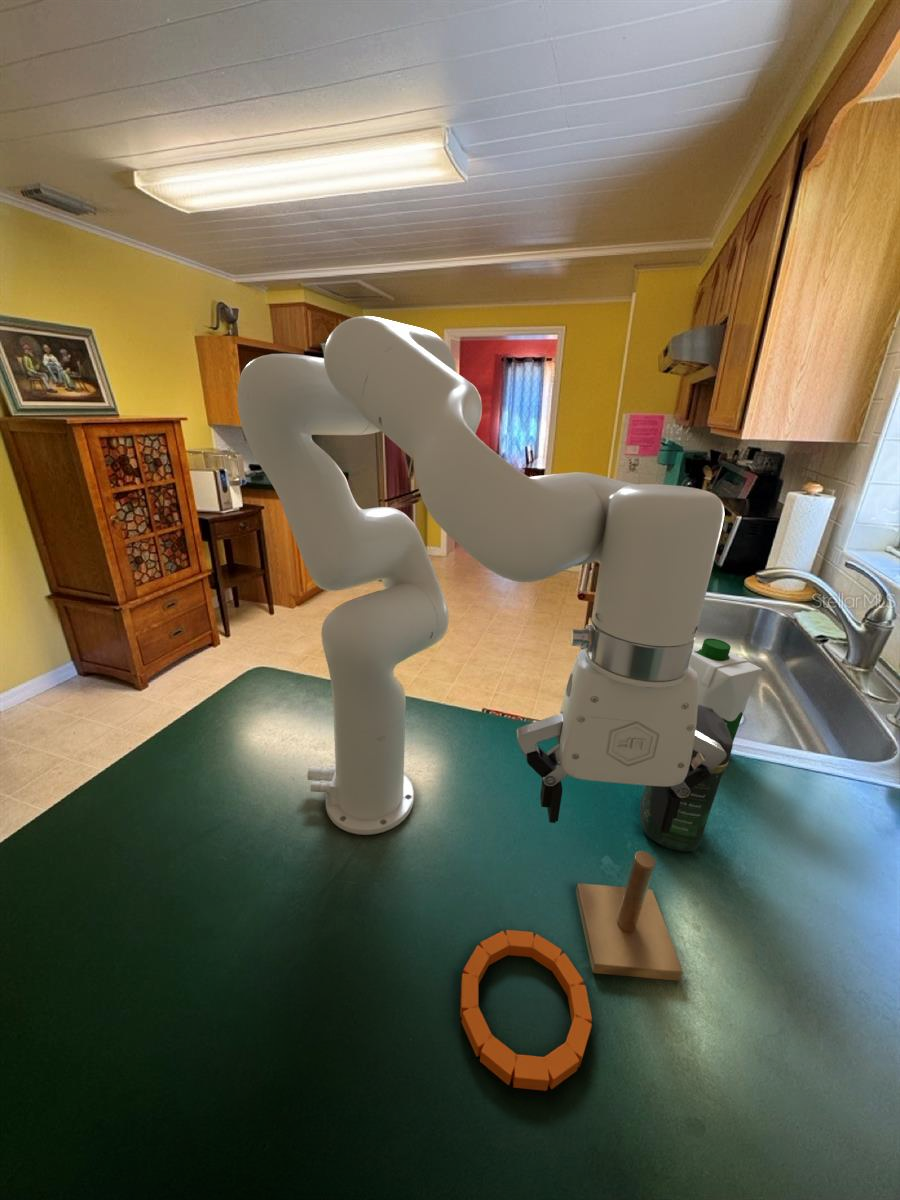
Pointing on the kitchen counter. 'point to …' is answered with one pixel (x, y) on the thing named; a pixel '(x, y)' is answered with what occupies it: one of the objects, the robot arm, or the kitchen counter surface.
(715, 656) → the milk carton
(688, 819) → the coffee jar
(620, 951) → the stand
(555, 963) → the orange segmented ring
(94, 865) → the kitchen counter surface
